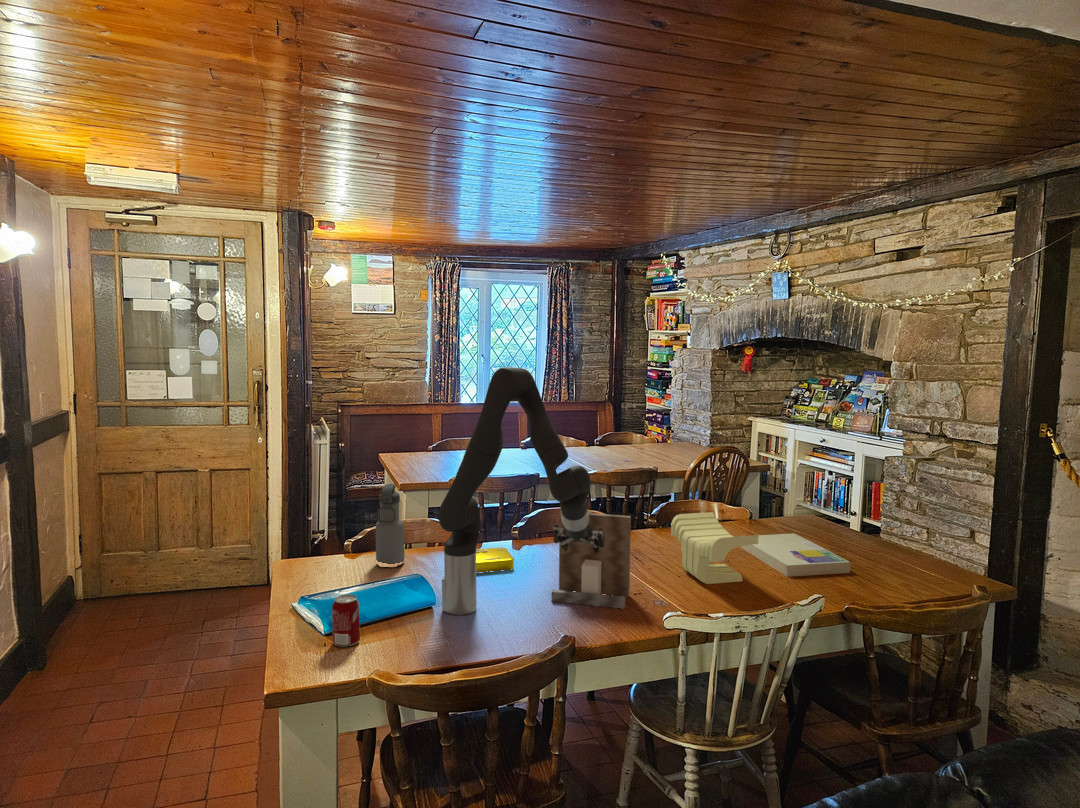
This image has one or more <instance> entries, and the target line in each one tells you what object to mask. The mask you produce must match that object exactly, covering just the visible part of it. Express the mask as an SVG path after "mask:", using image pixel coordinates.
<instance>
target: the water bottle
mask: <svg viewBox="0 0 1080 808" xmlns="http://www.w3.org/2000/svg"><path fill="white" fill-rule="evenodd" d="M395 490H396V484H395V483H386V484H385V485H384V486H383V487H382V489H381V493H380V494H379V495H378V498H379V502H378V503H379V508H378V509H377V513H376V514H377V515H376V516H377V522H376V523H375V561H376V560H377V561H378V562H382V563H387V564H395V563H400V562H403V561H404V559H405V524H404V523H405V522H404V521H403V520H402V519H400V503H401V502H400V500H401V499H400V498H401V497H400V496H401V495H400V493H399V492H397V491H395ZM404 562H405V561H404Z"/></svg>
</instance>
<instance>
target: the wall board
mask: <svg viewBox="0 0 1080 808" xmlns="http://www.w3.org/2000/svg"><path fill="white" fill-rule="evenodd" d="M631 517H632V516H631V515H624V514H623V515H621V514H606V513H592V512H589V518H590V525H591V529H592V530H593V531H598V529H599V528H601V529H603V533H604V537H605V541H604V547H600V546H599V552H597V553H596V554H594V551H593V546H591V545H588V544H586V543H585V542H580V541H571V542H569V543H568V548H567V551H564V549H562V545H561V544H560V543H559V542H558V544H559V547H558V548H559V550H558V551H559V554H558V555H559V556H558V557H559V559H558V566H559V567H558V589H552V590H551V602H553V601H556V602H555V603H562V602H566V603H565V604H571V603H576V604H575V605H580V604H585V605H584V606H590V605H595V606H594V607H599V606H604V607H603V608H608V607H613V608H612V609H617V608H621V609H620V610H625V608H626V598H628V597H630V592H631V591H630V589H631V585H630V583H631V581H630V580H631V536H632V532H631V531H632V529H631V528H632V527H631V526H632V525H631V524H632V521H631V520H632V518H631ZM559 528H563V524H562V521H561V511H559ZM562 535H564V534H563V533H561V534H559V536H562ZM588 540H589V539H588ZM593 542H594V540H593ZM585 559H587V560H598V561H602V562H601V594H593V593H583V592H581V584H582V564H583V563H584V561H585ZM573 591H576V592H573ZM602 594H606V595H602ZM612 595H613V596H612ZM622 596H623V597H622Z"/></svg>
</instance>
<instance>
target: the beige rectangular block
mask: <svg viewBox="0 0 1080 808" xmlns="http://www.w3.org/2000/svg"><path fill="white" fill-rule="evenodd" d="M601 562H602V561H598V560H587V559H585V561H584V563H583V564H582V584H581V592H583V593H593V594H601Z"/></svg>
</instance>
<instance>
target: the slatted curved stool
mask: <svg viewBox="0 0 1080 808" xmlns="http://www.w3.org/2000/svg"><path fill="white" fill-rule="evenodd" d="M758 535H759V534H758ZM758 535H757V534H756V535H741V536H740V537H739V536H733V535H732V534H730V533H729V532H728V531H727V530H726V529H725V528H724V527H723V526H722V524H721V523H720V521H719V520H718V518H716V516H715V514H714V512H713V511H711V512H710V511H708V512H694V513H693V512H692V513H680V514H676V515H675V516H674V517H673V519H672V521H671V526H670V536H674V537H675V538H677V540H678V542H679V544H681V545H680V548H681V557H682V558H681V559H682V567H683V569H684V570H685V571H687V572H688V573H689V574H691V575H692V576H693V577H694V578H696V579H698V581H700V582H702V583H703V584H707V585H712V584H724V583H725V584H726V583H733V582H734V583H735V582H736V583H737V582H743V577H742V574H741V573H739V571H736V570H735V569H733V568H731V567H730V566H728V565H727V564H725V563H721V564H719V563H720V562H725V559H726V556H727V554H729V552H730V551H732V550H734V549H736V548H741V547H740V546H745V545H753V544H758ZM715 562H716V563H715ZM717 562H719V563H718V564H717ZM711 563H715V564H711Z"/></svg>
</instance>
